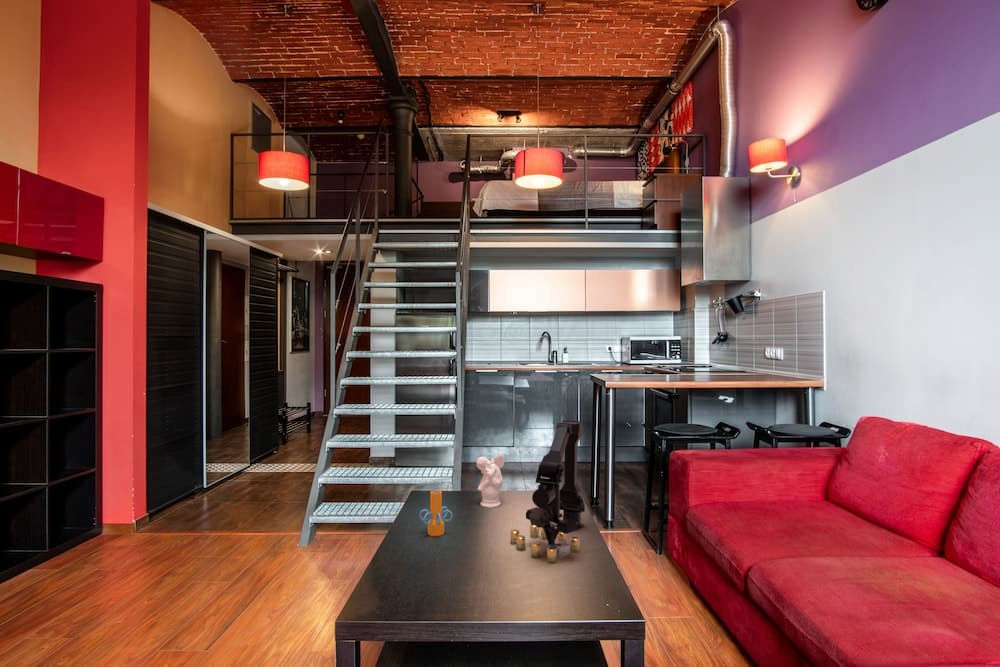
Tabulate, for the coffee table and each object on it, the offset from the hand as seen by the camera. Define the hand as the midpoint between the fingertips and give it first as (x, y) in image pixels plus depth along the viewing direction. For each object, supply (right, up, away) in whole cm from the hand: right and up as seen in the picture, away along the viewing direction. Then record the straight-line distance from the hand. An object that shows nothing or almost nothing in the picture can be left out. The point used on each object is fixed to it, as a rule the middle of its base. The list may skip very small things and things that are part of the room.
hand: (550, 545), depth 168 cm
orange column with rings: (-40, -2, +15) cm, 43 cm away
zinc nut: (+2, -2, -2) cm, 4 cm away
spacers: (-2, -2, +2) cm, 3 cm away
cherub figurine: (-20, -2, +49) cm, 53 cm away
